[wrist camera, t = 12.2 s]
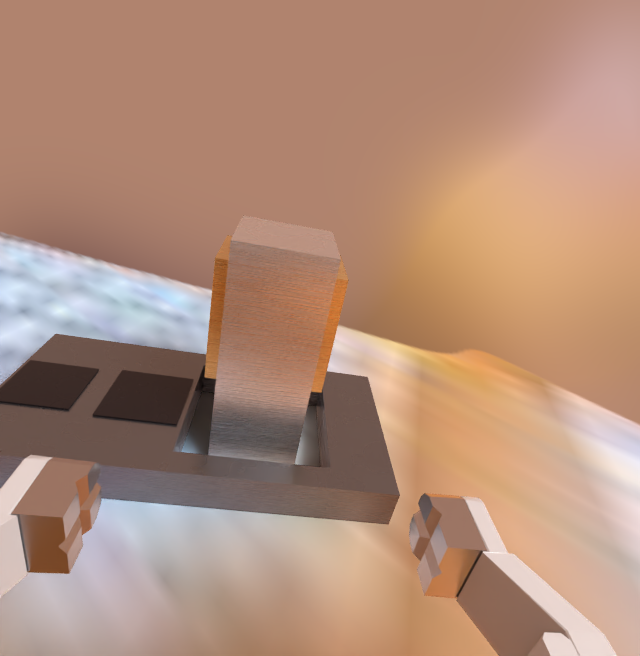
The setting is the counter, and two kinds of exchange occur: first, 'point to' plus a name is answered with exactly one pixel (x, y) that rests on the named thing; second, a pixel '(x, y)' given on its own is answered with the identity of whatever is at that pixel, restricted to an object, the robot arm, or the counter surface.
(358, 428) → the rail
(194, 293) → the counter surface
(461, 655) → the counter surface
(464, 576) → the robot arm
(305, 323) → the brushed metal pillar
